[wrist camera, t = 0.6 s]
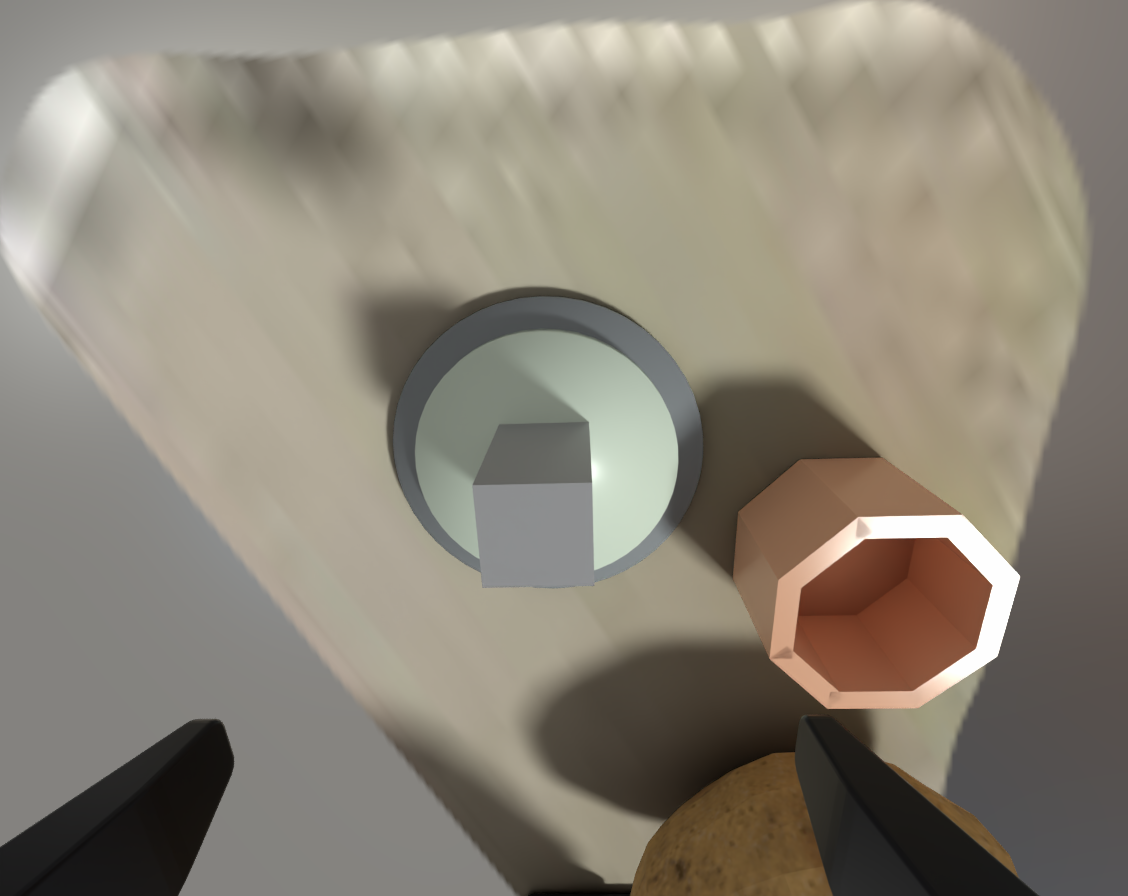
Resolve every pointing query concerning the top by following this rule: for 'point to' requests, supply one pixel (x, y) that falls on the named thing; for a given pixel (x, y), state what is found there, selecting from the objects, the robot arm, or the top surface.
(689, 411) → the mat
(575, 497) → the lid
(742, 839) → the potato
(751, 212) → the top surface
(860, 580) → the cup
